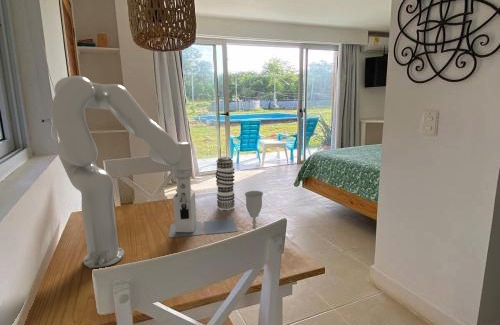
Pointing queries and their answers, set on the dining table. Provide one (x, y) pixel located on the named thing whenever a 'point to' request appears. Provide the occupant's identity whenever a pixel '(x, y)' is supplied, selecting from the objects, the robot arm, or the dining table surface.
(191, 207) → the milk carton
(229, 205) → the decorative candle
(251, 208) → the chalice
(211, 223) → the mat
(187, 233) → the tile
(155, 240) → the dining table surface
